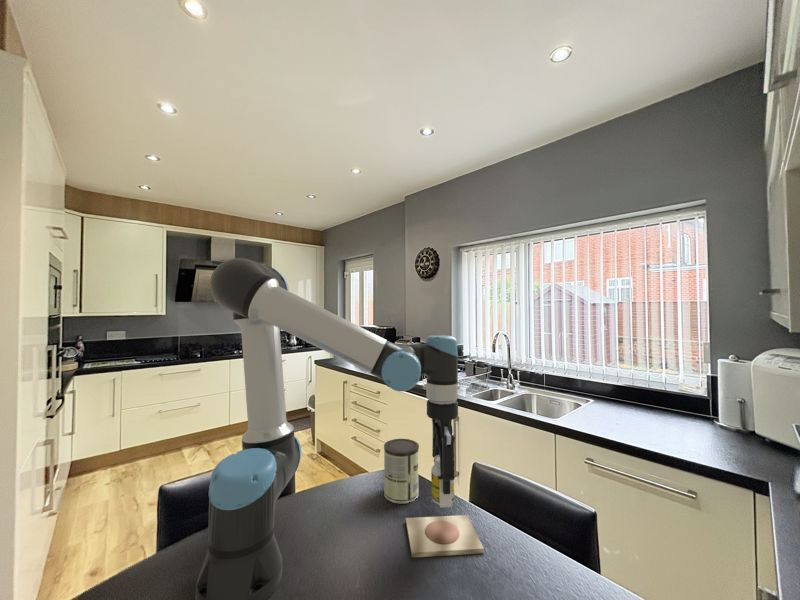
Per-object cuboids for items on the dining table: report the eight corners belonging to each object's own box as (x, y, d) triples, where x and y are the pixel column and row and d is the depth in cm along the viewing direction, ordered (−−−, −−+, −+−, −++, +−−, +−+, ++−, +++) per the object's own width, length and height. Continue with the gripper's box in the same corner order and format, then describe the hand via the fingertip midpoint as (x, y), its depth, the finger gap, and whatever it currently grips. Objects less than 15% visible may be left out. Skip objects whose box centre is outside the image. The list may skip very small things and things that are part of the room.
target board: (411, 557, 70) (411, 551, 70) (405, 522, 82) (405, 517, 82) (483, 553, 71) (483, 547, 72) (467, 519, 83) (467, 514, 83)
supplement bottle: (427, 496, 78) (427, 455, 79) (446, 491, 81) (445, 451, 81) (439, 508, 74) (438, 464, 74) (458, 503, 76) (458, 460, 76)
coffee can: (386, 483, 101) (386, 437, 101) (419, 485, 100) (419, 439, 100) (380, 502, 90) (381, 451, 91) (417, 505, 89) (418, 453, 90)
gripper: (468, 410, 69) (469, 522, 68) (448, 390, 88) (448, 478, 87) (434, 411, 69) (434, 524, 68) (421, 391, 87) (421, 479, 86)
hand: (442, 498), depth 77 cm, fingers closed on supplement bottle, 5 cm apart
